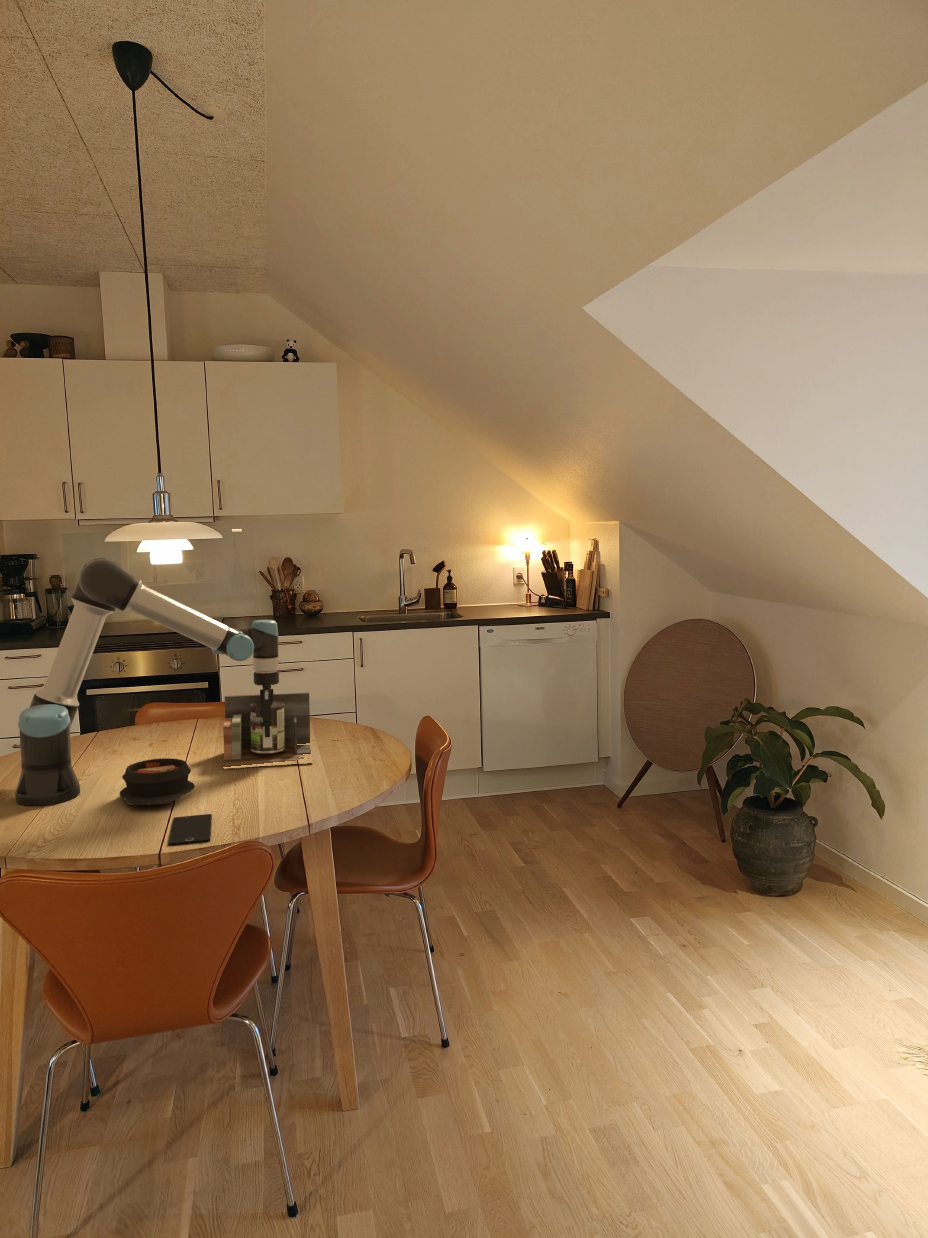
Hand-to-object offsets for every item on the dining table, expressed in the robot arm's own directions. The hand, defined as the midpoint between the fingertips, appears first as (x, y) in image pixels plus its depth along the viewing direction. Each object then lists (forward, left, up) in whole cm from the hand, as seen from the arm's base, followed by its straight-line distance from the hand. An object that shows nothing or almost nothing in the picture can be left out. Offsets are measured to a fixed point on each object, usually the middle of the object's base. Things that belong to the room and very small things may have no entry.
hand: (267, 742), depth 252 cm
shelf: (+1, 0, -5) cm, 5 cm away
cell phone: (-59, +17, -6) cm, 62 cm away
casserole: (-31, +28, -5) cm, 42 cm away
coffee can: (0, 0, -2) cm, 2 cm away
